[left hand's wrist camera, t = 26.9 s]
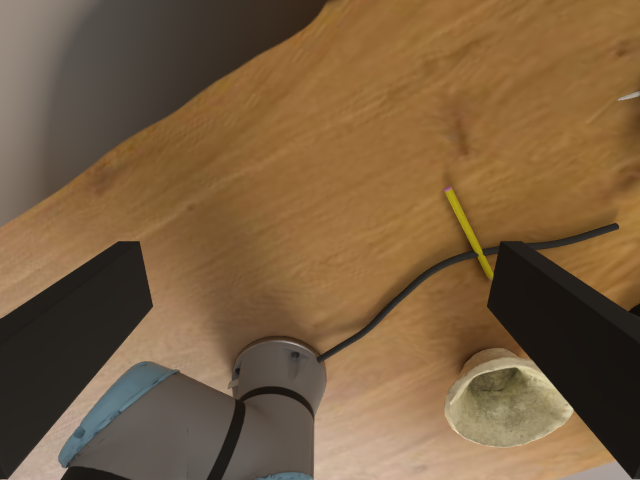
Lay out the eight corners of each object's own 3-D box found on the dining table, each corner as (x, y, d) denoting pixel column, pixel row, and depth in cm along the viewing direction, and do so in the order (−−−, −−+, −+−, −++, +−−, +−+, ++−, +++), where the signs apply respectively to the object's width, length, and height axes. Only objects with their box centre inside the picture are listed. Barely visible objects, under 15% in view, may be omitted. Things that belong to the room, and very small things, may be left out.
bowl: (520, 336, 59) (562, 428, 54) (420, 364, 59) (452, 458, 54) (568, 332, 45) (627, 453, 41) (438, 368, 46) (482, 492, 41)
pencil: (442, 189, 45) (444, 190, 44) (449, 185, 45) (452, 186, 44) (489, 282, 50) (492, 286, 49) (495, 279, 50) (498, 283, 49)
